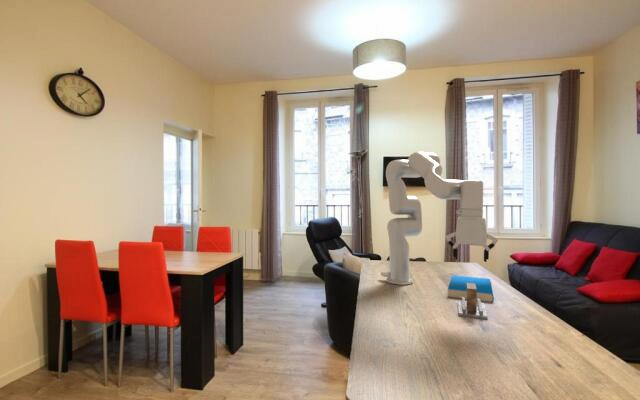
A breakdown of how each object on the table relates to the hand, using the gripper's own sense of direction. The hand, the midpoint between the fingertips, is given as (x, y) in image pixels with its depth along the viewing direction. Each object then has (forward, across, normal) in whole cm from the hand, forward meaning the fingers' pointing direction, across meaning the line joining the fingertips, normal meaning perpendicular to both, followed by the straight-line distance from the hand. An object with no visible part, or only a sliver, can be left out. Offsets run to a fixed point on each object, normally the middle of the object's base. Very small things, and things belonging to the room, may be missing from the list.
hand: (470, 260), depth 117 cm
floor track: (+18, +1, -1) cm, 18 cm away
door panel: (+17, +1, -1) cm, 17 cm away
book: (+20, +2, +26) cm, 33 cm away
